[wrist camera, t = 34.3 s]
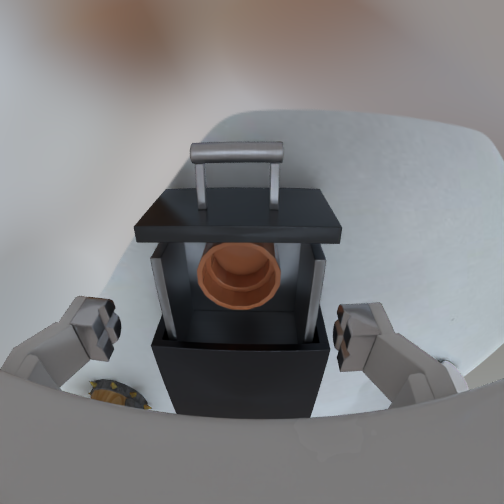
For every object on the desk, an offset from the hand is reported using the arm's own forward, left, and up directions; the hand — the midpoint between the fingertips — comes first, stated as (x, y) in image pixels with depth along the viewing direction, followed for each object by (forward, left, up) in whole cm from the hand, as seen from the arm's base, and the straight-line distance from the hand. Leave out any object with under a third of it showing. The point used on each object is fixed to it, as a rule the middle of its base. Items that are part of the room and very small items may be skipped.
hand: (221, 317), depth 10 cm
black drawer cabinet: (+18, 0, -18) cm, 25 cm away
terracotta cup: (+6, 0, -16) cm, 17 cm away
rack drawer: (+5, 0, -17) cm, 18 cm away
